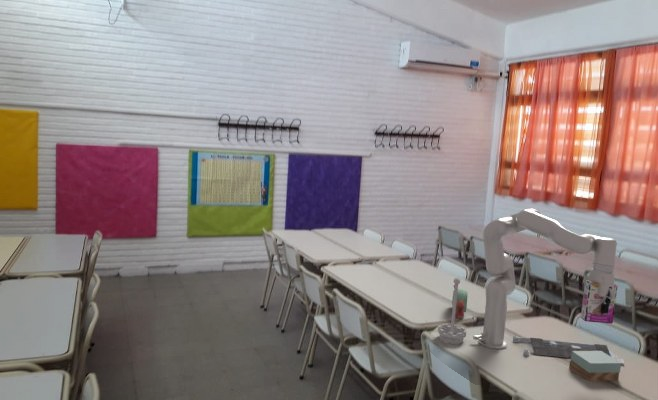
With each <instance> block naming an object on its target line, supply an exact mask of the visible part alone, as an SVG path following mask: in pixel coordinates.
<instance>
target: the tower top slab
mask: <svg viewBox="0 0 658 400" xmlns="http://www.w3.org/2000/svg"><path fill="white" fill-rule="evenodd" d="M570 360H572V361H573V362H575V363H576V364H577V365H579V366H580V367H582V368H583V369H585V370H586V371H587V372H589V373H614V372H619V373H621V368H622V364H621V363H620V362H619V361H617V360H615V359H614V358H612V357H610V356H609V355H607V354H606V353H604V352H602V351H572V354H571V358H570Z"/></svg>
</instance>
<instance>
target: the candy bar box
mask: <svg viewBox="0 0 658 400" xmlns="http://www.w3.org/2000/svg"><path fill="white" fill-rule="evenodd" d="M597 292H598V283H595V282H593V281H588V279H586V280H585V282H584V289H583V296H582V297H583V298H582V305H581V312H580V313H581V314H580V319H582V320H583V321H584V322H587V323H588V322H590V323H600V324H613V323H614V315H615V308H616V301H617V292H618V285H617V284H615V283H614V292H613V293H614V295H615V297H616V299H615V300H613V302H611V304H609V310H608V313H601V304H602V303H603V300H602V297H600V296H598V295H597ZM607 295H608V294H607ZM606 300H607V298H606Z"/></svg>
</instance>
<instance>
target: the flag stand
mask: <svg viewBox="0 0 658 400" xmlns="http://www.w3.org/2000/svg"><path fill="white" fill-rule="evenodd" d="M460 283H461V280H460V279H459V278H458V277H456V278H454V279H453V284H454V285H453V289H454V290H453V291H454V299H453V298H452V299H453V308H452V310H451V322H450V325H449V324H448V323H442V325H438V326H437V327H438V328H437V333H438V334H439V340H441V341H442V340H443V341H442V342H444V341H445V342H444V343H446V342H447V344H450V343H451V344H452V345H459V344H460V343H461V344H463V343H462V342H464V339H465V338H466V337H467V330H466V328H465V327H464V326H460V327H458V324H456V323H455V322H456V317H455V313H456V302H457V292H458V289H459V284H460Z"/></svg>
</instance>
